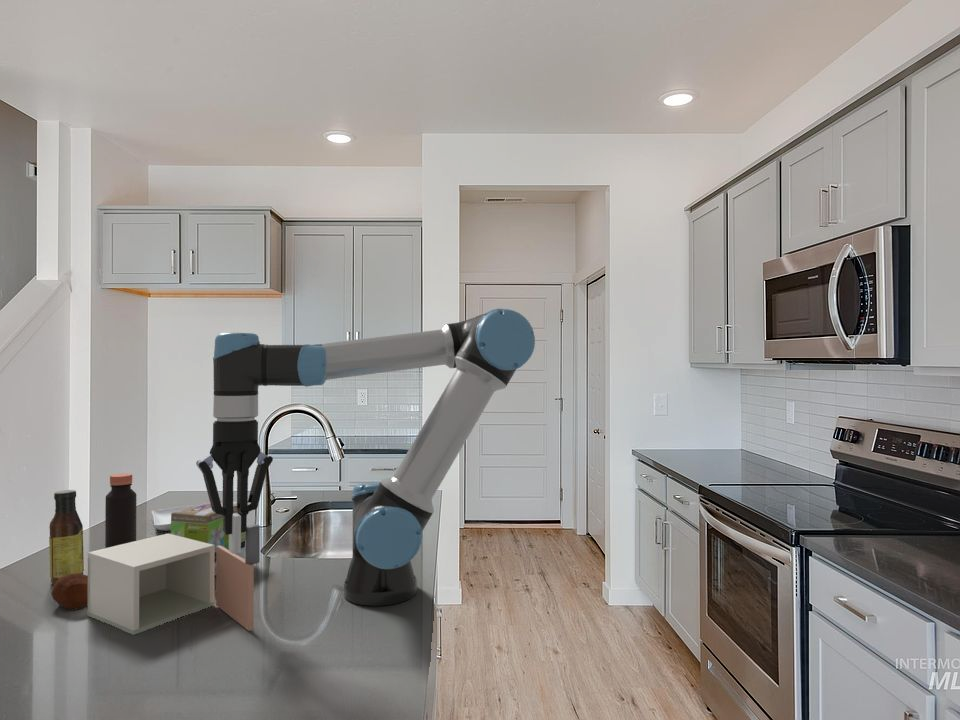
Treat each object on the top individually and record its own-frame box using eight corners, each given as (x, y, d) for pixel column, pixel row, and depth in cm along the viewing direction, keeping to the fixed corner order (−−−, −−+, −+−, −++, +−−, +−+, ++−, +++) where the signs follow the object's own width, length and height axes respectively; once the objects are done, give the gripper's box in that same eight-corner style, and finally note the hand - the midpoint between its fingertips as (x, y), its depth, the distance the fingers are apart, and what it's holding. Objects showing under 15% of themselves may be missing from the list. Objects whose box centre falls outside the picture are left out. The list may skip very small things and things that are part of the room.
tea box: (208, 582, 138) (208, 514, 138) (168, 578, 140) (168, 512, 140) (246, 561, 153) (247, 500, 153) (210, 558, 155) (210, 498, 155)
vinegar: (137, 549, 162) (137, 472, 162) (135, 556, 156) (135, 476, 156) (106, 552, 159) (107, 473, 159) (103, 560, 153) (104, 478, 153)
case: (214, 605, 124) (214, 545, 124) (133, 634, 111) (133, 567, 111) (167, 590, 133) (168, 533, 133) (87, 615, 119) (87, 552, 119)
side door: (216, 605, 123) (216, 513, 124) (228, 601, 125) (228, 511, 125) (249, 630, 112) (249, 529, 112) (262, 627, 113) (262, 526, 113)
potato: (54, 617, 119) (54, 583, 119) (49, 603, 126) (49, 570, 126) (97, 608, 123) (97, 575, 123) (89, 594, 130) (90, 563, 130)
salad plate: (154, 536, 176) (154, 524, 176) (151, 520, 194) (151, 508, 194) (234, 526, 186) (234, 515, 186) (224, 512, 205) (224, 501, 205)
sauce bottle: (90, 579, 139) (90, 490, 140) (61, 588, 134) (61, 495, 134) (71, 575, 142) (71, 487, 142) (42, 583, 137) (42, 492, 137)
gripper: (265, 416, 119) (264, 541, 119) (192, 419, 111) (191, 552, 111) (278, 418, 113) (277, 550, 112) (202, 422, 105) (200, 563, 105)
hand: (234, 551), depth 112 cm, fingers closed
